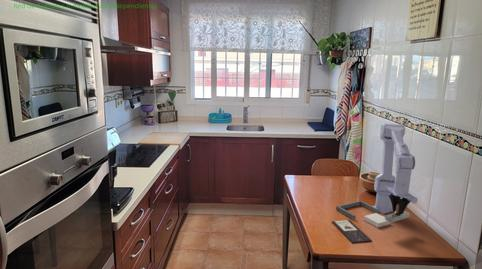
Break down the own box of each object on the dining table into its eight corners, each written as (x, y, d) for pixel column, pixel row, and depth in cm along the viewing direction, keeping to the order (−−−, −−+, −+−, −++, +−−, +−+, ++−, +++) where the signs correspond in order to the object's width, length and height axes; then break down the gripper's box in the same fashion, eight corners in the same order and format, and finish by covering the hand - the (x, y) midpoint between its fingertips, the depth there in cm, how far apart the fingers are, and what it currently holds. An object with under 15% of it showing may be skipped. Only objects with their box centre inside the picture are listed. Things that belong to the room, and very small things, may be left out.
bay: (360, 204, 173) (360, 200, 172) (378, 213, 163) (379, 209, 162) (336, 209, 165) (336, 206, 165) (353, 219, 155) (354, 215, 155)
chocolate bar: (352, 242, 135) (331, 221, 152) (351, 244, 135) (331, 223, 152) (371, 240, 136) (349, 220, 153) (371, 242, 136) (349, 222, 154)
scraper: (402, 214, 148) (405, 199, 146) (409, 217, 145) (411, 202, 144) (384, 219, 142) (386, 204, 140) (390, 222, 139) (393, 207, 138)
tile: (375, 217, 159) (376, 212, 158) (389, 224, 152) (390, 219, 152) (363, 220, 155) (364, 216, 155) (377, 228, 148) (378, 223, 148)
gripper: (381, 178, 144) (377, 207, 147) (411, 190, 132) (406, 221, 135) (392, 176, 148) (388, 204, 151) (422, 187, 135) (417, 218, 138)
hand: (397, 212), depth 143 cm, fingers closed on scraper, 2 cm apart
